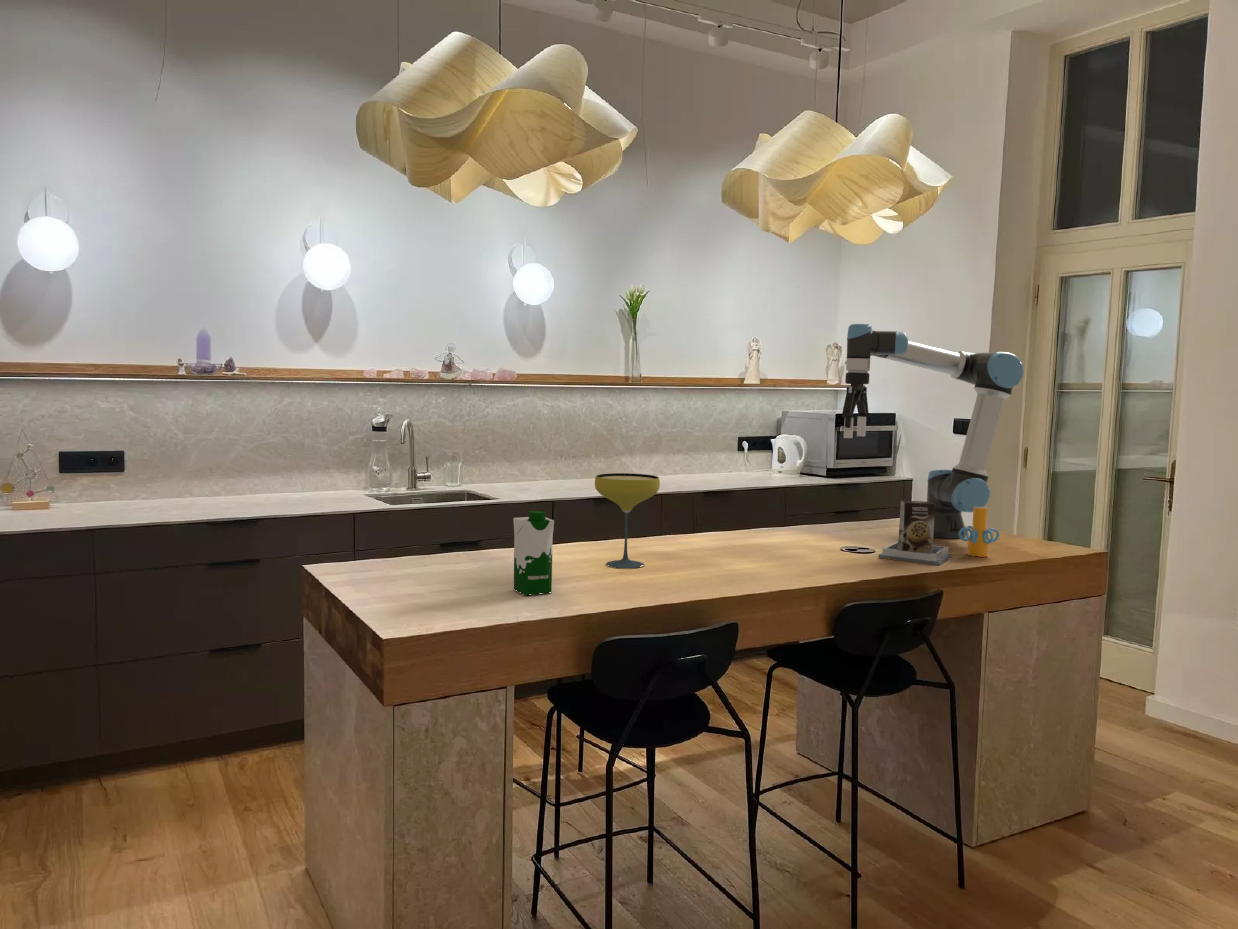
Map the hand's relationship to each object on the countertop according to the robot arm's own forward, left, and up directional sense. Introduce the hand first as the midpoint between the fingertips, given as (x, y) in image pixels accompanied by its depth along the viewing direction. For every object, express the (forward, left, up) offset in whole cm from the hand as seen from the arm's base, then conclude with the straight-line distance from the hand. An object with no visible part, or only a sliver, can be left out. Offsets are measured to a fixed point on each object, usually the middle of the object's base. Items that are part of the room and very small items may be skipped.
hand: (854, 437), depth 307 cm
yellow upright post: (-2, +40, -35) cm, 53 cm away
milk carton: (+121, -40, -35) cm, 132 cm away
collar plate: (+15, +25, -35) cm, 45 cm away
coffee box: (+15, +25, -34) cm, 45 cm away
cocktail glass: (+79, -39, -35) cm, 95 cm away
